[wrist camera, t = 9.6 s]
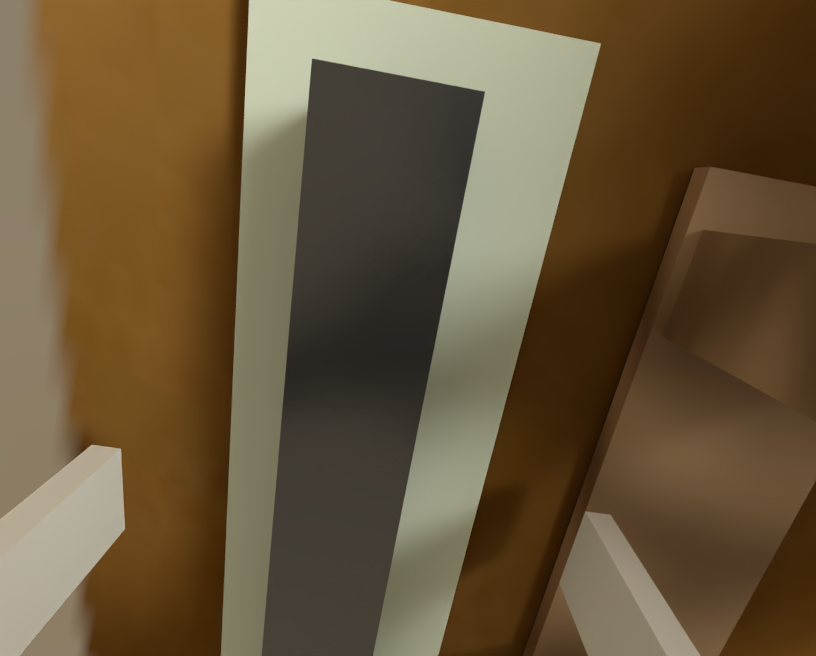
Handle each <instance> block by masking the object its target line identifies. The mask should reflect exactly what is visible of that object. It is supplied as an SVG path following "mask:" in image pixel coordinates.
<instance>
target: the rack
mask: <svg viewBox="0 0 816 656" xmlns="http://www.w3.org/2000/svg"><path fill="white" fill-rule="evenodd" d="M815 481H816V186H811V185H806V184H801V183H795V182H790V181H785V180H779V179H774V178H769V177H763V176H758V175H753V174H747V173H742V172H737V171H731V170H726V169H721V168H715V167H699V168H694V171H693V174H692V177H691V180H690V182H689V185H688V188H687V191H686V194H685V197H684V199H683V202H682V205H681V208H680V211H679V214H678V216H677V219H676V222H675V225H674V228H673V231H672V233H671V236H670V239H669V242H668V245H667V248H666V251H665V253H664V256H663V259H662V262H661V265H660V268H659V270H658V273H657V276H656V279H655V282H654V285H653V287H652V290H651V293H650V296H649V299H648V302H647V304H646V307H645V310H644V313H643V316H642V319H641V321H640V324H639V327H638V330H637V333H636V336H635V338H634V341H633V344H632V347H631V350H630V353H629V355H628V358H627V361H626V364H625V367H624V370H623V372H622V375H621V378H620V381H619V384H618V387H617V389H616V392H615V395H614V398H613V401H612V404H611V406H610V409H609V412H608V415H607V418H606V421H605V424H604V426H603V429H602V432H601V435H600V438H599V441H598V443H597V446H596V449H595V452H594V455H593V458H592V460H591V463H590V466H589V469H588V472H587V475H586V477H585V480H584V483H583V486H582V489H581V492H580V494H579V497H578V500H577V503H576V506H575V509H574V511H573V514H572V517H571V520H570V523H569V526H568V528H567V531H566V534H565V537H564V540H563V543H562V545H561V548H560V551H559V554H558V557H557V560H556V562H555V565H554V568H553V571H552V574H551V577H550V579H549V582H548V585H547V588H546V591H545V594H544V597H543V599H542V602H541V605H540V608H539V611H538V614H537V616H536V619H535V622H534V625H533V628H532V631H531V633H530V636H529V639H528V642H527V645H526V648H525V650H524V653H523V656H588V655H587V652H586V650H585V647H584V645H583V642H582V640H581V637H580V634H579V632H578V629H577V627H576V624H575V622H574V619H573V617H572V614H571V612H570V609H569V607H568V604H567V601H566V599H565V596H564V594H563V591H562V589H561V586H560V584H559V582H560V579H561V577H562V574H563V571H564V568H565V566H566V563H567V560H568V557H569V555H570V552H571V549H572V547H573V544H574V541H575V538H576V536H577V533H578V530H579V527H580V525H581V522H582V519H583V516H584V514H585V511H587V512H594V513H602V514H609V515H611V516H612V518H613V519H614V521H615V522H616V524H617V525H618V527H619V529H620V530H621V532H622V533H623V535H624V536H625V538H626V540H627V541H628V543H629V544H630V546H631V547H632V549H633V551H634V552H635V554H636V555H637V557H638V558H639V560H640V562H641V563H642V565H643V566H644V568H645V569H646V571H647V573H648V574H649V576H650V577H651V579H652V580H653V582H654V584H655V585H656V587H657V588H658V590H659V591H660V593H661V595H662V596H663V598H664V599H665V601H666V602H667V604H668V606H669V607H670V609H671V610H672V612H673V613H674V615H675V617H676V618H677V620H678V621H679V623H680V624H681V626H682V628H683V629H684V631H685V632H686V634H687V635H688V637H689V639H690V640H691V642H692V643H693V645H694V646H695V648H696V650H697V651H698V653H699V654H700V656H719V654H720V653H721V651H722V649H723V647H724V645H725V644H726V642H727V640H728V638H729V636H730V635H731V633H732V631H733V629H734V627H735V626H736V624H737V622H738V620H739V618H740V617H741V615H742V613H743V611H744V609H745V608H746V606H747V604H748V602H749V600H750V599H751V597H752V595H753V593H754V591H755V589H756V588H757V586H758V584H759V582H760V580H761V579H762V577H763V575H764V573H765V571H766V570H767V568H768V566H769V564H770V562H771V561H772V559H773V557H774V555H775V553H776V552H777V550H778V548H779V546H780V544H781V543H782V541H783V539H784V537H785V535H786V534H787V532H788V530H789V528H790V526H791V525H792V523H793V521H794V519H795V517H796V515H797V514H798V512H799V510H800V508H801V506H802V505H803V503H804V501H805V499H806V497H807V496H808V494H809V492H810V490H811V488H812V487H813V485H814V483H815Z"/></svg>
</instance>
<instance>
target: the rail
mask: <svg viewBox="0 0 816 656" xmlns="http://www.w3.org/2000/svg"><path fill="white" fill-rule="evenodd" d="M484 95H485V92H484V91H479V90H474V89H469V88H463V87H458V86H453V85H448V84H443V83H437V82H432V81H427V80H422V79H417V78H411V77H406V76H401V75H396V74H391V73H386V72H380V71H375V70H370V69H365V68H360V67H354V66H349V65H344V64H339V63H334V62H328V61H323V60H318V59H313V58H312V64H311V76H310V87H309V99H308V111H307V123H306V135H305V147H304V159H303V170H302V182H301V194H300V206H299V218H298V230H297V242H296V253H295V265H294V277H293V289H292V301H291V313H290V325H289V336H288V348H287V360H286V372H285V384H284V396H283V407H282V419H281V431H280V443H279V455H278V467H277V479H276V490H275V502H274V514H273V526H272V538H271V550H270V562H269V573H268V585H267V597H266V609H265V621H264V633H263V645H262V656H373V653H374V648H375V643H376V638H377V633H378V628H379V623H380V618H381V613H382V608H383V603H384V598H385V593H386V588H387V583H388V578H389V573H390V568H391V563H392V558H393V553H394V548H395V543H396V538H397V533H398V528H399V523H400V518H401V512H402V507H403V502H404V497H405V492H406V487H407V482H408V477H409V472H410V467H411V462H412V457H413V452H414V447H415V442H416V437H417V432H418V427H419V422H420V417H421V412H422V407H423V402H424V397H425V392H426V387H427V382H428V377H429V372H430V367H431V362H432V357H433V352H434V346H435V341H436V336H437V331H438V326H439V321H440V316H441V311H442V306H443V301H444V296H445V291H446V286H447V281H448V276H449V271H450V266H451V261H452V256H453V251H454V246H455V241H456V236H457V231H458V226H459V221H460V216H461V211H462V206H463V201H464V196H465V191H466V186H467V180H468V175H469V170H470V165H471V160H472V155H473V150H474V145H475V140H476V135H477V130H478V125H479V120H480V115H481V110H482V105H483V100H484Z"/></svg>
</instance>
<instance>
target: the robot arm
mask: <svg viewBox="0 0 816 656" xmlns="http://www.w3.org/2000/svg"><path fill="white" fill-rule="evenodd" d="M124 530H125V520H124V500H123V480H122V460H121V449H120V448H112V447H105V446H98V445H91V446H90V447H89V448H87V449H86V450H85V451H84V452H82V453H81V454H80V455H79V456H77V457H76V458H75V459H74V460H72V461H71V462H70V463H69V464H67V465H66V466H65V467H64V468H63V469H61V470H60V471H59V472H58V473H56V474H55V475H54V476H53V477H51V478H50V479H49V480H48V481H46V482H45V483H44V484H43V485H42V486H40V487H39V488H38V489H37V490H36V491H34V492H33V493H32V494H30V495H29V496H28V497H27V498H25V499H24V500H23V501H22V502H21V503H19V504H18V505H17V506H16V507H14V508H13V509H12V510H11V511H9V512H8V513H7V514H6V515H4V516H3V517H2V518H1V519H0V656H20V655H21V654H22V653H23V651H24V650H25V649H26V648H27V647H28V645H29V644H30V643H31V642H32V641H33V639H34V638H35V637H36V636H37V634H38V633H39V632H40V631H41V630H42V628H43V627H44V626H45V625H46V623H47V622H48V621H49V620H50V619H51V618H52V616H53V615H54V614H55V613H56V612H57V610H58V609H59V608H60V607H61V605H62V604H63V603H64V602H65V601H66V599H67V598H68V597H69V596H70V595H71V594H72V592H73V591H74V590H75V589H76V587H77V586H78V585H79V584H80V583H81V581H82V580H83V579H84V578H85V577H86V575H87V574H88V573H89V572H90V571H91V569H92V568H93V567H94V566H95V565H96V563H97V562H98V561H99V560H100V559H101V557H102V556H103V555H104V554H105V553H106V551H107V550H108V549H109V548H110V546H111V545H112V544H113V543H114V542H115V540H116V539H117V538H118V537H119V536H120V534H121V533H122V532H123V531H124ZM559 584H560V586H561V589H562V591H563V594H564V596H565V599H566V601H567V604H568V607H569V609H570V612H571V614H572V617H573V619H574V622H575V624H576V627H577V629H578V632H579V634H580V637H581V640H582V642H583V645H584V647H585V650H586V652H587V655H588V656H700V654H699V653H698V651H697V650H696V648H695V646H694V645H693V643H692V642H691V640H690V639H689V637H688V635H687V634H686V632H685V631H684V629H683V628H682V626H681V624H680V623H679V621H678V620H677V618H676V617H675V615H674V613H673V612H672V610H671V609H670V607H669V606H668V604H667V602H666V601H665V599H664V598H663V596H662V595H661V593H660V591H659V590H658V588H657V587H656V585H655V584H654V582H653V580H652V579H651V577H650V576H649V574H648V573H647V571H646V569H645V568H644V566H643V565H642V563H641V562H640V560H639V558H638V557H637V555H636V554H635V552H634V551H633V549H632V547H631V546H630V544H629V543H628V541H627V540H626V538H625V536H624V535H623V533H622V532H621V530H620V529H619V527H618V525H617V524H616V522H615V521H614V519H613V518H612V516H611V515H609V514H602V513H594V512H587V511H585V514H584V516H583V519H582V522H581V525H580V527H579V530H578V533H577V536H576V538H575V541H574V544H573V547H572V549H571V552H570V555H569V557H568V560H567V563H566V566H565V568H564V571H563V574H562V577H561V579H560V582H559Z"/></svg>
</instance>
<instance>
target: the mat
mask: <svg viewBox="0 0 816 656" xmlns="http://www.w3.org/2000/svg"><path fill="white" fill-rule="evenodd" d="M600 45H601V43H596V42H591V41H586V40H581V39H576V38H571V37H566V36H562V35H557V34H552V33H547V32H542V31H537V30H532V29H527V28H522V27H517V26H512V25H508V24H503V23H498V22H493V21H488V20H483V19H478V18H473V17H468V16H463V15H458V14H454V13H449V12H444V11H439V10H434V9H429V8H424V7H419V6H414V5H409V4H404V3H400V2H395V1H390V0H249V15H248V39H247V62H246V85H245V108H244V132H243V155H242V178H241V201H240V225H239V248H238V271H237V294H236V318H235V341H234V364H233V387H232V411H231V434H230V457H229V480H228V504H227V527H226V550H225V573H224V597H223V620H222V643H221V656H262V645H263V633H264V621H265V609H266V597H267V585H268V573H269V562H270V550H271V538H272V526H273V514H274V502H275V490H276V479H277V467H278V455H279V443H280V431H281V419H282V407H283V396H284V384H285V372H286V360H287V348H288V336H289V325H290V313H291V301H292V289H293V277H294V265H295V253H296V242H297V230H298V218H299V206H300V194H301V182H302V170H303V159H304V147H305V135H306V123H307V111H308V99H309V87H310V76H311V64H312V58H313V59H318V60H323V61H328V62H334V63H339V64H344V65H349V66H354V67H360V68H365V69H370V70H375V71H380V72H386V73H391V74H396V75H401V76H406V77H411V78H417V79H422V80H427V81H432V82H437V83H443V84H448V85H453V86H458V87H463V88H469V89H474V90H479V91H484V92H485V95H484V100H483V105H482V110H481V115H480V120H479V125H478V130H477V135H476V140H475V145H474V150H473V155H472V160H471V165H470V170H469V175H468V180H467V186H466V191H465V196H464V201H463V206H462V211H461V216H460V221H459V226H458V231H457V236H456V241H455V246H454V251H453V256H452V261H451V266H450V271H449V276H448V281H447V286H446V291H445V296H444V301H443V306H442V311H441V316H440V321H439V326H438V331H437V336H436V341H435V346H434V352H433V357H432V362H431V367H430V372H429V377H428V382H427V387H426V392H425V397H424V402H423V407H422V412H421V417H420V422H419V427H418V432H417V437H416V442H415V447H414V452H413V457H412V462H411V467H410V472H409V477H408V482H407V487H406V492H405V497H404V502H403V507H402V512H401V518H400V523H399V528H398V533H397V538H396V543H395V548H394V553H393V558H392V563H391V568H390V573H389V578H388V583H387V588H386V593H385V598H384V603H383V608H382V613H381V618H380V623H379V628H378V633H377V638H376V643H375V648H374V653H373V656H438V654H439V651H440V647H441V643H442V639H443V636H444V632H445V628H446V624H447V621H448V617H449V613H450V609H451V606H452V602H453V598H454V594H455V591H456V587H457V583H458V579H459V575H460V572H461V568H462V564H463V560H464V557H465V553H466V549H467V545H468V542H469V538H470V534H471V530H472V527H473V523H474V519H475V515H476V512H477V508H478V504H479V500H480V497H481V493H482V489H483V485H484V481H485V478H486V474H487V470H488V466H489V463H490V459H491V455H492V451H493V448H494V444H495V440H496V436H497V433H498V429H499V425H500V421H501V418H502V414H503V410H504V406H505V403H506V399H507V395H508V391H509V387H510V384H511V380H512V376H513V372H514V369H515V365H516V361H517V357H518V354H519V350H520V346H521V342H522V339H523V335H524V331H525V327H526V324H527V320H528V316H529V312H530V308H531V305H532V301H533V297H534V293H535V290H536V286H537V282H538V278H539V275H540V271H541V267H542V263H543V260H544V256H545V252H546V248H547V245H548V241H549V237H550V233H551V230H552V226H553V222H554V218H555V214H556V211H557V207H558V203H559V199H560V196H561V192H562V188H563V184H564V181H565V177H566V173H567V169H568V166H569V162H570V158H571V154H572V151H573V147H574V143H575V139H576V136H577V132H578V128H579V124H580V120H581V117H582V113H583V109H584V105H585V102H586V98H587V94H588V90H589V87H590V83H591V79H592V75H593V72H594V68H595V64H596V60H597V57H598V53H599V49H600Z"/></svg>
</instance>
